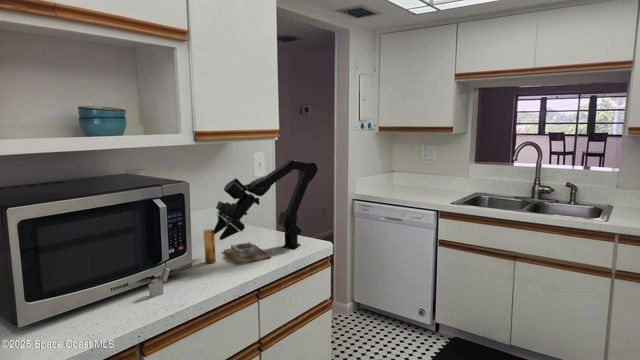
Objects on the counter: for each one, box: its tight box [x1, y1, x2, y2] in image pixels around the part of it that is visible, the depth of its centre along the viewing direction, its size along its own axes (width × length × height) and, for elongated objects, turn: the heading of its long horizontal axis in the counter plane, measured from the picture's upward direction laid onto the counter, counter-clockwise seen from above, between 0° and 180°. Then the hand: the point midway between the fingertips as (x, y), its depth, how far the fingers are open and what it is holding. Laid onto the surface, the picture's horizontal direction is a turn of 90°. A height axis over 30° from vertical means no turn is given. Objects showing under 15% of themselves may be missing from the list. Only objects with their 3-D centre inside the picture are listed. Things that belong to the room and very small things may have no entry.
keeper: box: [223, 241, 272, 266], centre depth 167 cm, size 14×18×4 cm
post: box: [203, 228, 217, 265], centre depth 159 cm, size 4×4×13 cm
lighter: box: [148, 268, 170, 299], centre depth 132 cm, size 7×2×8 cm, turn 144°
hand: (216, 236), depth 160 cm, fingers open, 9 cm apart
